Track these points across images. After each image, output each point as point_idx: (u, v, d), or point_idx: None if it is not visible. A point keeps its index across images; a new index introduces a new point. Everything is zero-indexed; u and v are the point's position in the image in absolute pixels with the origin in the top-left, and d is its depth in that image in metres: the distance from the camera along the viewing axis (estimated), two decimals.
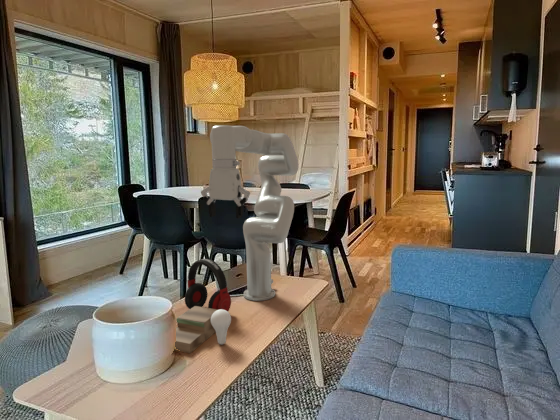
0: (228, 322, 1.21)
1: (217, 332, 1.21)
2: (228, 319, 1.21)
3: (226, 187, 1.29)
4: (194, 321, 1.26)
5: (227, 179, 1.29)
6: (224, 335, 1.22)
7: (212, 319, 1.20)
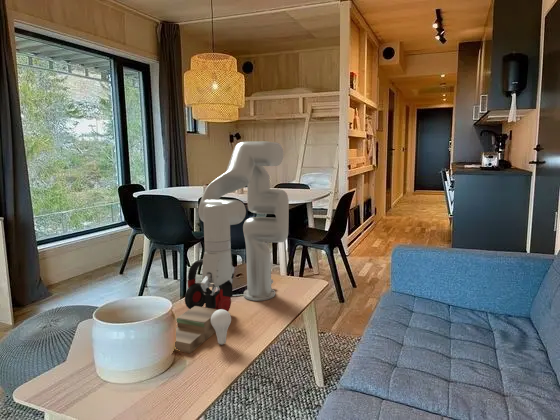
0: (228, 322, 1.21)
1: (217, 332, 1.21)
2: (228, 319, 1.21)
3: (228, 268, 1.20)
4: (194, 321, 1.26)
5: (229, 259, 1.20)
6: (224, 335, 1.22)
7: (212, 319, 1.20)
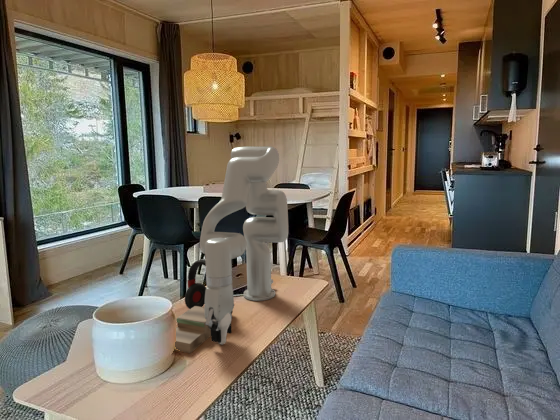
0: (228, 322, 1.21)
1: None
2: (228, 319, 1.21)
3: (230, 301, 1.22)
4: (194, 321, 1.26)
5: (230, 292, 1.22)
6: (224, 335, 1.22)
7: None
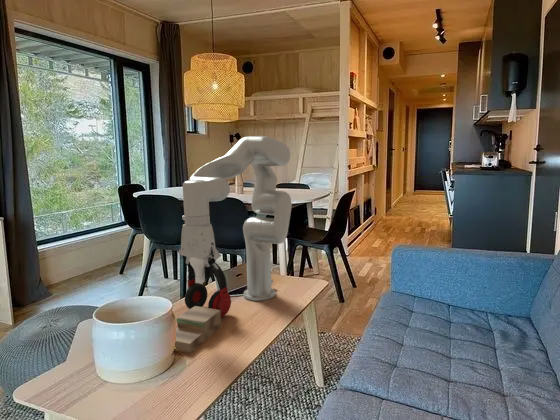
0: None
1: (204, 270, 1.27)
2: None
3: None
4: (194, 321, 1.26)
5: None
6: None
7: None
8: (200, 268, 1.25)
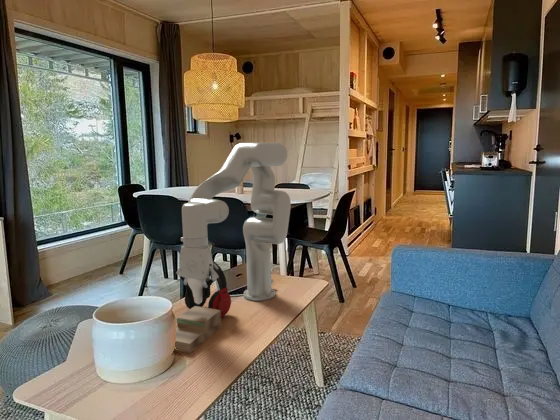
0: None
1: (201, 291, 1.29)
2: None
3: None
4: (194, 321, 1.26)
5: None
6: None
7: None
8: (198, 289, 1.28)
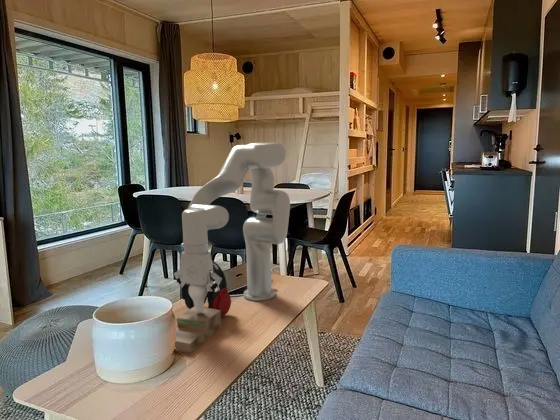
0: None
1: (203, 301, 1.30)
2: None
3: None
4: (194, 321, 1.26)
5: None
6: None
7: (202, 290, 1.28)
8: (199, 299, 1.28)
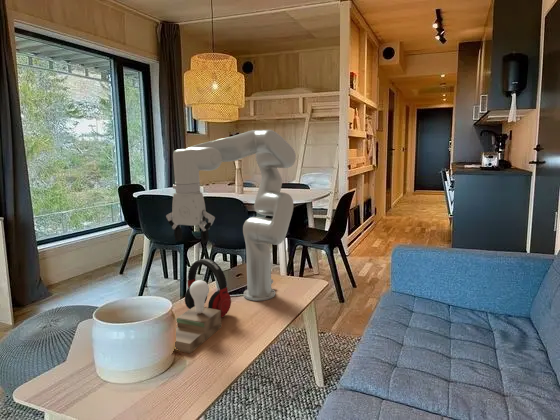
0: None
1: (203, 300, 1.30)
2: None
3: None
4: (194, 321, 1.26)
5: None
6: None
7: (203, 289, 1.28)
8: (200, 299, 1.29)
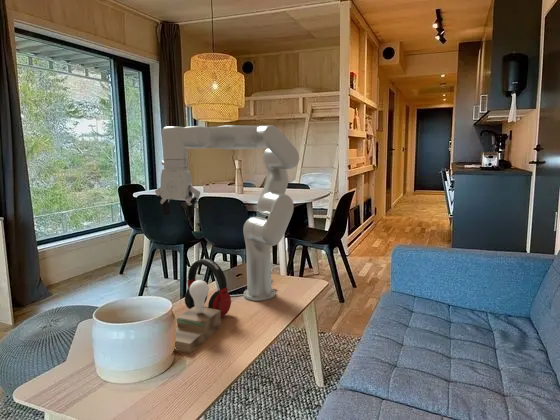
0: None
1: (203, 300, 1.30)
2: None
3: None
4: (194, 321, 1.26)
5: None
6: None
7: (203, 289, 1.28)
8: (199, 298, 1.29)
